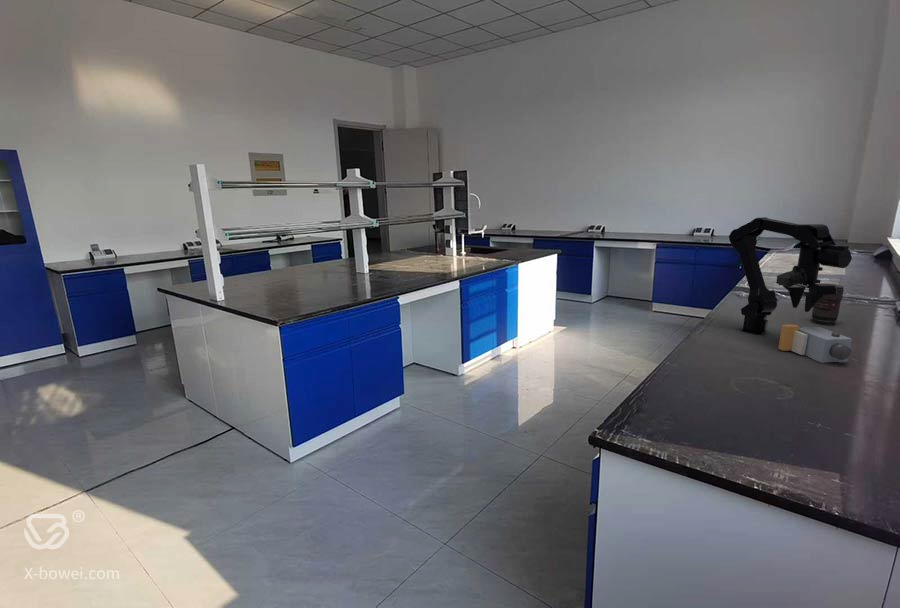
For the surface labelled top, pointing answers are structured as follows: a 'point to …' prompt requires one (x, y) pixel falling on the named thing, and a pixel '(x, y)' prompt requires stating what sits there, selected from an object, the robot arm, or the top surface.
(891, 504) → the top surface
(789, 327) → the side door
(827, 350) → the grey knobbed box
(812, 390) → the top surface
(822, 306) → the camera lens
